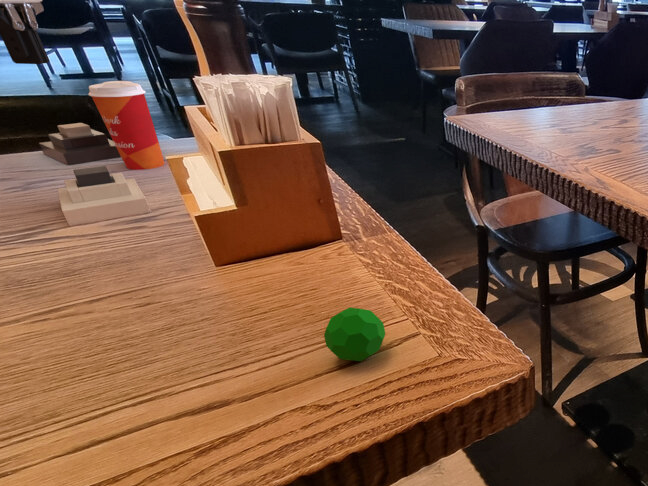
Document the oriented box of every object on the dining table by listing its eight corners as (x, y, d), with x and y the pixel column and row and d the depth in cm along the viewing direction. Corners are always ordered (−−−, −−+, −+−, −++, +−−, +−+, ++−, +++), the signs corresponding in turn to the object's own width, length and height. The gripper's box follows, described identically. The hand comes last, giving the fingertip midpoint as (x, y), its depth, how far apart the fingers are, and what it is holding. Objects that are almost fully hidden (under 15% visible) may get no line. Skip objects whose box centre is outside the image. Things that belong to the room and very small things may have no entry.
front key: (79, 183, 76) (73, 169, 75) (111, 179, 78) (105, 165, 77) (81, 189, 74) (75, 175, 73) (114, 185, 76) (108, 171, 75)
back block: (44, 154, 100) (33, 133, 98) (102, 146, 107) (93, 126, 105) (68, 165, 95) (58, 143, 93) (128, 156, 101) (119, 135, 99)
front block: (64, 202, 79) (51, 177, 77) (139, 191, 84) (129, 167, 82) (69, 226, 72) (55, 198, 70) (151, 212, 77) (140, 185, 75)
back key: (62, 136, 98) (57, 125, 97) (86, 133, 101) (81, 122, 100) (69, 139, 97) (64, 128, 96) (93, 136, 99) (89, 125, 98)
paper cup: (116, 164, 96) (82, 83, 90) (167, 158, 101) (139, 81, 94) (122, 174, 92) (87, 89, 85) (175, 167, 96) (146, 86, 90)
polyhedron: (357, 378, 46) (346, 333, 44) (318, 361, 48) (306, 317, 45) (399, 349, 50) (392, 306, 47) (362, 335, 52) (353, 293, 49)
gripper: (-29, -101, 66) (39, 56, 75) (-151, -124, 54) (-51, 68, 63) (40, -96, 68) (100, 58, 77) (-63, -117, 55) (23, 71, 64)
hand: (32, 62), depth 70 cm, fingers closed
